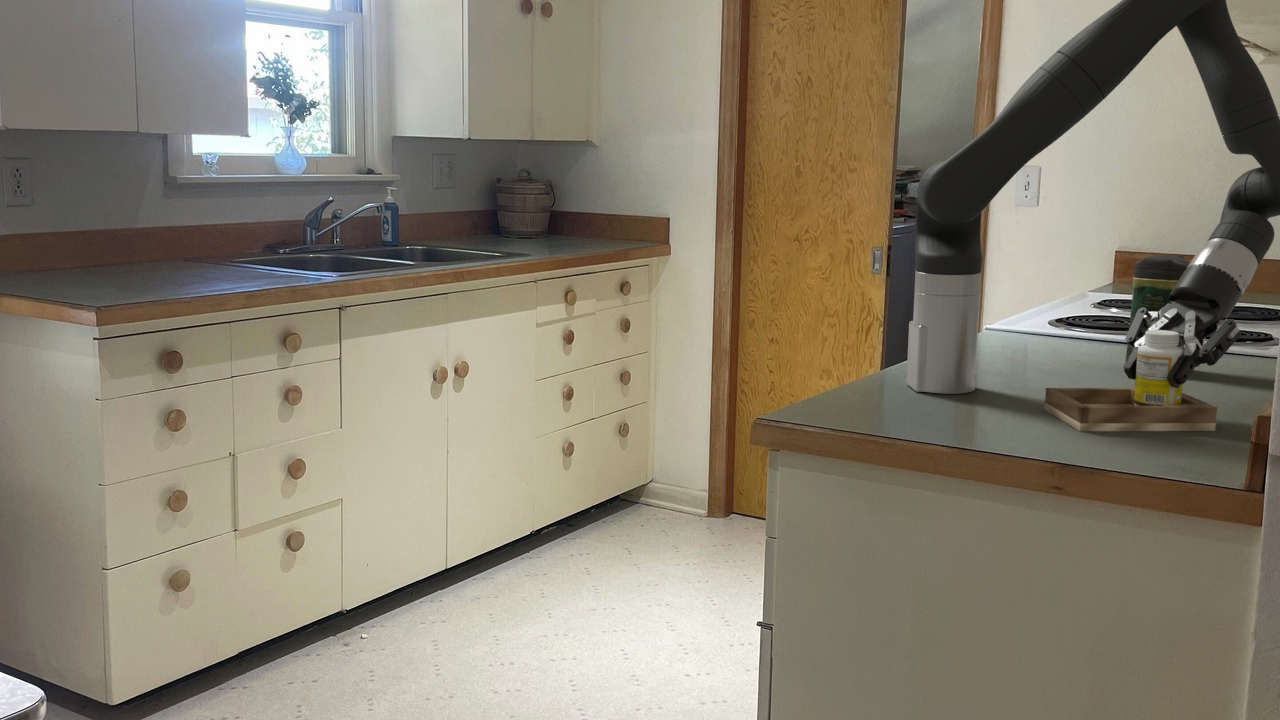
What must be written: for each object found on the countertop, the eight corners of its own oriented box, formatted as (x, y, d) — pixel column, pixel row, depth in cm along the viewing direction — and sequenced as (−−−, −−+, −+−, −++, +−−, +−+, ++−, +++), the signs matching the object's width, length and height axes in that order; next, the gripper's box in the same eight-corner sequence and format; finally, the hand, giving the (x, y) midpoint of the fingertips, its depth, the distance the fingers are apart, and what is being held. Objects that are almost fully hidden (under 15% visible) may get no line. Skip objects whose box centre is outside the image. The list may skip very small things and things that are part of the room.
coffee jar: (1172, 378, 175) (1182, 257, 171) (1119, 371, 180) (1128, 254, 176) (1188, 368, 182) (1199, 253, 179) (1137, 363, 187) (1146, 250, 184)
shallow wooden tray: (1079, 431, 141) (1081, 407, 141) (1044, 409, 153) (1046, 388, 152) (1214, 430, 141) (1217, 407, 141) (1169, 409, 153) (1171, 387, 153)
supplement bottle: (1165, 404, 150) (1171, 328, 148) (1189, 414, 145) (1195, 335, 143) (1124, 405, 150) (1130, 329, 148) (1147, 415, 144) (1153, 336, 142)
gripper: (1154, 257, 153) (1090, 352, 150) (1257, 266, 141) (1190, 370, 137) (1175, 294, 157) (1113, 387, 153) (1277, 305, 145) (1213, 407, 141)
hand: (1150, 379), depth 145 cm, fingers closed on supplement bottle, 5 cm apart
